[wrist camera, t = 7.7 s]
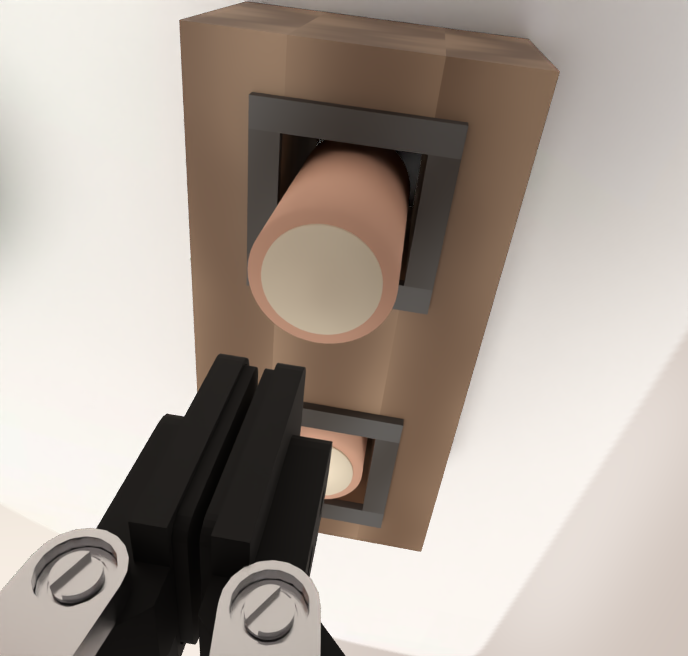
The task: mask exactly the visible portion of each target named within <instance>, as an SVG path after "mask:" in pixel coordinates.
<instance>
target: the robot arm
mask: <svg viewBox="0 0 688 656" xmlns="http://www.w3.org/2000/svg"><path fill="white" fill-rule="evenodd" d="M305 377H306V368H305V367H302V366H295V365H289V364H283V363H277V364H276V366H275V369H274V370H273V369H267V368H266V369H265V370H264V372H263V374H262V377H261V379H260V382H259V384H258V367H255V366H249V359H248V358H246V357H240V356H233V355H227V354H221V353H220V354H218V356H217V357H216V359H215V361H214V363H213V364H212V366H211V368H210V370H209V372H208V374H207V376H206V377H205V379H204V381H203V383H202V385H201V387H200V389H199V390H198V392H197V394H196V396H195V398H194V400H193V402H192V403H191V405H190V407H189V409H188V411H187V413H186V415H185V416H178V415H172V414H166V415H164V416H163V417H162V419H161V420H160V421H159V423H158V425H157V426H156V428H155V430H154V431H153V433H152V435H151V436H150V438H149V440H148V442H147V443H146V445H145V447H144V448H143V450H142V452H141V453H140V455H139V457H138V459H137V460H136V462H135V464H134V465H133V467H132V469H131V470H130V472H129V474H128V476H127V477H126V479H125V481H124V482H123V484H122V486H121V487H120V489H119V491H118V493H117V494H116V496H115V498H114V499H113V501H112V503H111V504H110V506H109V508H108V509H107V511H106V513H105V515H104V516H103V518H102V520H101V521H100V523H99V525H98V526H97V528H96V529H95V528H85V529H75V530H72V531H69V532H66V533H63V534H60V535H58V536H56V537H55V538H53V539H51V540H49V541H48V542H46V543H45V544H43V545H42V546H41V547H40V548H39V549H38V550H37V551H36V552H35V553H33V554H32V555H31V556H30V558H29V559H28V560H27V561H26V562H25V564H24V565H23V566H22V567H21V568H20V569H19V570H18V572H17V573H16V574H15V575H14V576H13V577H12V578H11V580H10V581H9V582H8V583H7V584H6V585H5V587H4V588H3V589H2V590H1V591H0V656H181V655H182V652H183V650H184V647H185V644H186V643H189V644H196V643H197V641H198V639H199V643H200V656H345V655H344V653H343V652H342V650H341V649H340V648H339V646H338V645H337V644H336V642H335V641H334V639H333V638H332V637H331V635H330V634H329V633H328V631H327V630H326V629H325V627H324V626H323V624H322V623H321V605H320V598H319V592H318V590H317V589H316V587H315V585H314V583H313V581H312V579H311V578H310V572H311V567H312V562H313V557H314V551H315V546H316V541H317V536H318V531H319V526H320V521H321V516H322V510H323V505H324V499H325V494H326V488H327V481H328V475H329V468H330V460H331V452H332V443H333V442H332V441H327V440H321V439H315V438H309V437H303V436H300V433H301V422H302V411H303V399H304V388H305Z"/></svg>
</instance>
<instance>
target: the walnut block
mask: <svg viewBox="0 0 688 656" xmlns="http://www.w3.org/2000/svg"><path fill="white" fill-rule="evenodd" d="M179 22H180V43H181V64H182V84H183V105H184V126H185V147H186V167H187V188H188V209H189V229H190V250H191V271H192V291H193V312H194V333H195V354H196V374H197V392H198V390H199V389H200V387H201V385H202V383H203V381H204V379H205V377H206V376H207V374H208V372H209V370H210V368H211V366H212V364H213V363H214V361H215V359H216V357H217V356H218V354H220V353H221V354H227V355H233V356H240V357H246V358H248V359H249V366H255V367H258V384H259V382H260V379H261V377H262V374H263V372H264V370H265V369H266V368H267V369H273V370H274V369H275V366H276V364H277V363H283V364H289V365H295V366H302V367H305V368H306V377H305V388H304V399H303V411H302V422H301V426H304V427H310V428H315V429H321V430H327V431H332V432H338V433H344V434H349V435H355V436H361V437H367V445H366V452H365V458H364V465H363V472H362V477H361V481H360V483H359V484H358V486H357V487H356V488H355V489H354V490H353V491H352V492H350V493H348V494H347V495H344V496H342V497H338V498H333V499H324V505H323V510H322V516H321V521H320V526H319V531H318V533H323V534H328V535H334V536H339V537H344V538H350V539H355V540H361V541H366V542H371V543H377V544H382V545H388V546H393V547H398V548H404V549H409V550H414V551H420V552H421V550H422V547H423V543H424V540H425V536H426V533H427V529H428V526H429V523H430V519H431V516H432V512H433V509H434V505H435V502H436V498H437V495H438V491H439V488H440V484H441V481H442V478H443V474H444V471H445V467H446V464H447V460H448V457H449V453H450V450H451V446H452V443H453V440H454V436H455V433H456V429H457V426H458V422H459V419H460V415H461V412H462V408H463V405H464V401H465V398H466V395H467V391H468V388H469V384H470V381H471V377H472V374H473V370H474V367H475V363H476V360H477V356H478V353H479V350H480V346H481V343H482V339H483V336H484V332H485V329H486V325H487V322H488V318H489V315H490V311H491V308H492V305H493V301H494V298H495V294H496V291H497V287H498V284H499V280H500V277H501V273H502V270H503V267H504V263H505V260H506V256H507V253H508V249H509V246H510V242H511V239H512V235H513V232H514V228H515V225H516V222H517V218H518V215H519V211H520V208H521V204H522V201H523V197H524V194H525V190H526V187H527V183H528V180H529V177H530V173H531V170H532V166H533V163H534V159H535V156H536V152H537V149H538V145H539V142H540V138H541V135H542V132H543V128H544V125H545V121H546V118H547V114H548V111H549V107H550V104H551V100H552V97H553V93H554V90H555V87H556V83H557V80H558V76H559V73H560V71H559V70H558V69H557V68H556V67H555V66H554V65H553V64H552V63H551V62H550V61H549V60H548V59H547V58H546V57H545V56H544V55H543V54H542V53H541V52H540V50H539V49H538V48H537V47H536V46H535V45H534V44H533V43H532V42H531V41H530V40H529V39H524V38H517V37H509V36H502V35H494V34H487V33H479V32H472V31H464V30H456V29H449V28H441V27H434V26H426V25H419V24H411V23H404V22H396V21H389V20H381V19H374V18H366V17H359V16H351V15H344V14H336V13H329V12H321V11H314V10H306V9H299V8H291V7H283V6H276V5H268V4H261V3H253V2H243V3H239V4H235V5H232V6H228V7H225V8H221V9H217V10H214V11H210V12H207V13H203V14H199V15H196V16H192V17H189V18H185V19H181V20H179ZM317 139H324V140H331V141H337V142H344V143H351V144H358V145H365V146H372V147H379V148H385V149H392V150H399V151H406V152H413V153H420V154H422V157H421V163H420V169H419V174H418V180H417V185H416V191H415V196H414V202H413V207H408V213H407V221H406V229H405V237H404V245H403V253H402V261H401V269H400V277H399V285H398V293H397V297H396V301H395V303H394V306H393V308H392V310H391V312H390V313H389V315H388V316H387V318H386V319H385V320H384V321H383V322H382V324H380V325H379V326H378V327H377V328H376V329H375V330H373V331H372V332H370V333H369V334H367V335H365V336H363V337H361V338H358V339H356V340H353V341H349V342H344V343H336V344H324V343H316V342H311V341H307V340H304V339H301V338H298V337H296V336H294V335H291V334H289V333H288V332H286V331H284V330H283V329H281V328H280V327H278V326H277V325H276V324H274V323H273V322H272V321H271V320H270V319H269V318H268V317H267V316H266V315H265V313H264V312H263V311H262V310H261V308H260V307H259V305H258V304H257V302H256V300H255V298H254V296H253V294H252V291H251V288H250V285H249V280H248V259H249V255H250V251H251V249H252V246H253V244H254V242H255V240H256V239H257V237H258V235H259V234H260V232H261V231H262V229H263V228H264V226H265V224H266V223H267V221H268V220H269V218H270V216H271V215H272V213H273V212H274V210H275V209H276V207H277V205H278V204H279V202H280V201H281V199H282V198H283V196H284V194H285V193H286V191H287V190H288V188H289V186H290V185H291V183H292V182H293V180H294V179H295V177H296V175H297V174H298V172H299V171H300V169H301V168H302V166H303V164H304V163H305V161H306V160H307V158H308V156H309V155H310V154H311V152H312V151H313V150H314V149H315V148H316V144H317Z"/></svg>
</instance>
